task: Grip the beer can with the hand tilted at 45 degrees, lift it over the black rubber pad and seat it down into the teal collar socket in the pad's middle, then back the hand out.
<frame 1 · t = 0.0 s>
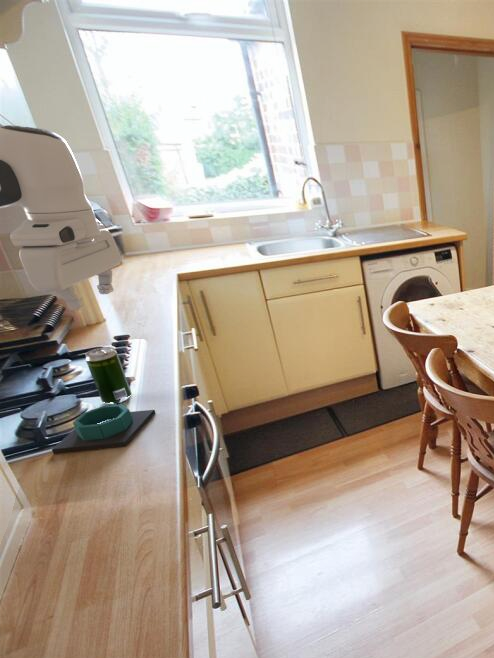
hand: (92, 300, 88), 26 cm above the countertop, tool pointing down, fingers open, 8 cm apart
can pad: (108, 432, 94), on the countertop
beer can: (118, 400, 105), on the countertop
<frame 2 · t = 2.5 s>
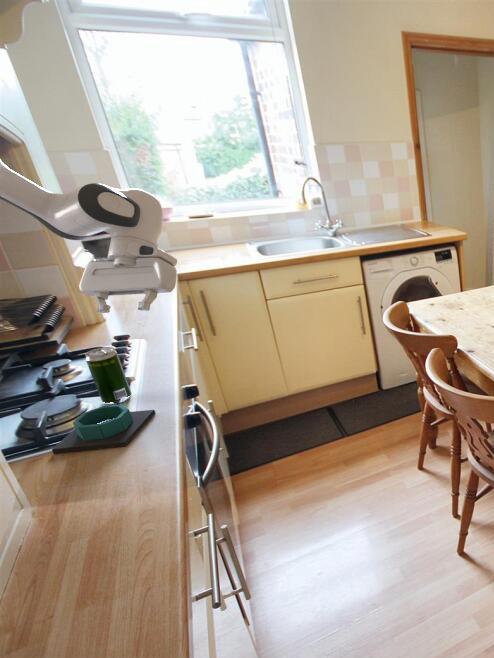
hand: (123, 311, 107), 18 cm above the countertop, tool tilted 40°, fingers open, 8 cm apart
nothing on the countertop moved.
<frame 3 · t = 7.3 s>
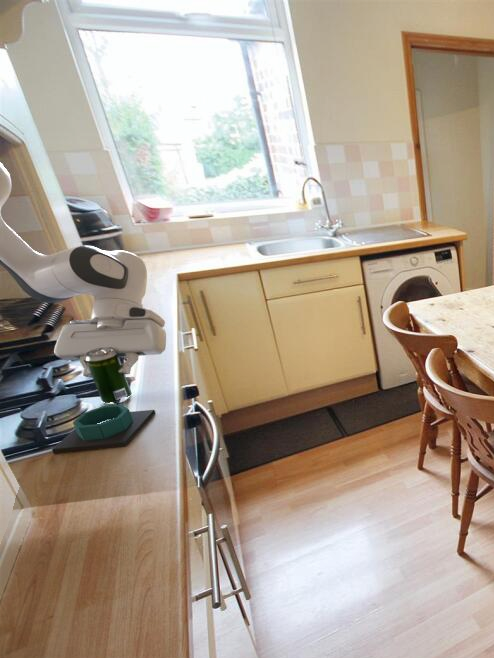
hand: (106, 375, 102), 7 cm above the countertop, tool tilted 45°, fingers closed on beer can, 5 cm apart
beer can: (118, 400, 106), on the countertop, touching gripper
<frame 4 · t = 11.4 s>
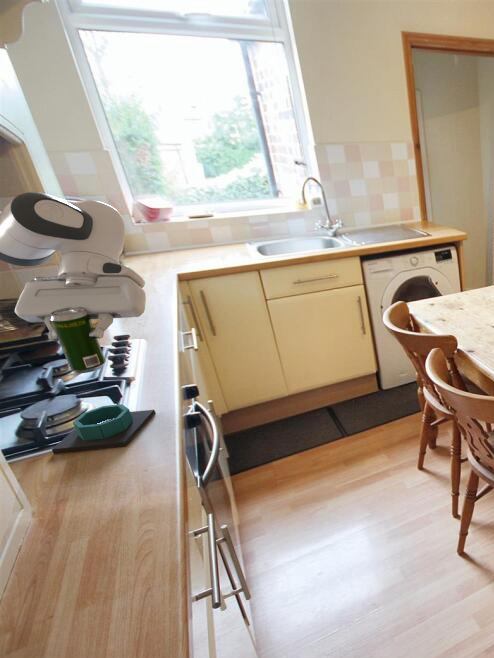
hand: (75, 338, 89), 19 cm above the countertop, tool tilted 45°, fingers closed on beer can, 5 cm apart
beer can: (89, 368, 92), point 12 cm above the countertop, touching gripper
when the fingers open (7 cm above the countertop, at t = 15.7 s): beer can stays where it is, resting on can pad.
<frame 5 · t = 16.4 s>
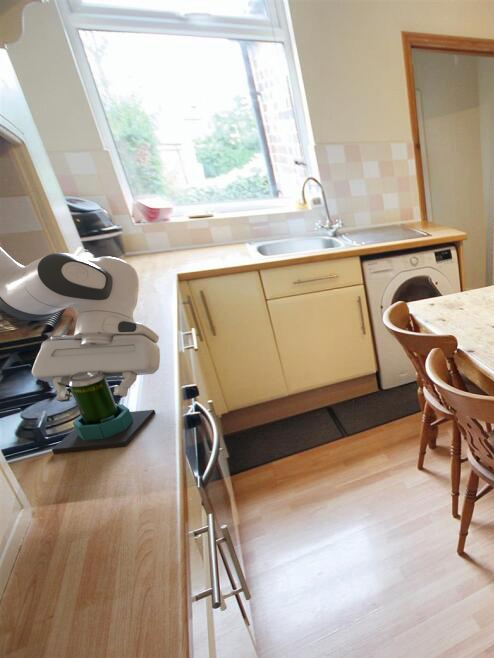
hand: (92, 398, 90), 8 cm above the countertop, tool tilted 45°, fingers open, 8 cm apart
beer can: (106, 428, 94), point 1 cm above the countertop, touching can pad
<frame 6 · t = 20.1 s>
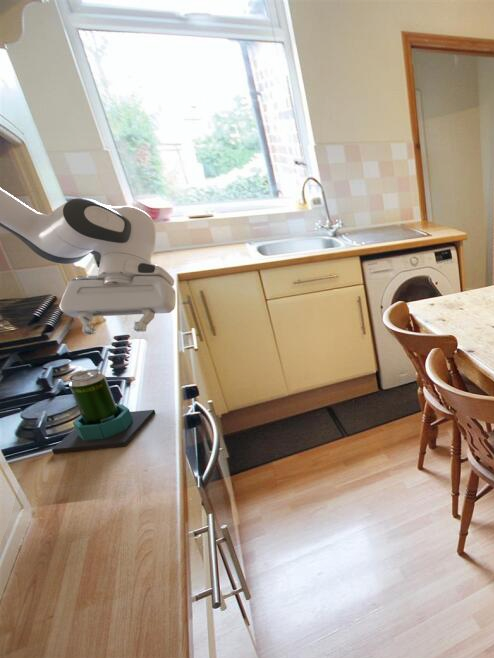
hand: (114, 332, 98), 17 cm above the countertop, tool tilted 45°, fingers open, 8 cm apart
nothing on the countertop moved.
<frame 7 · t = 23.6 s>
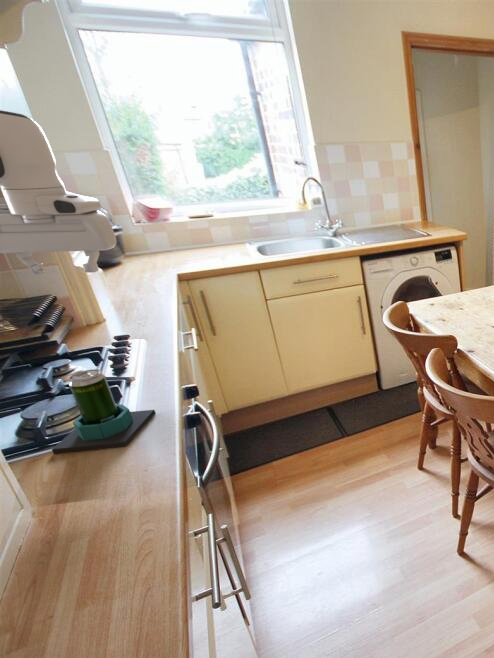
hand: (65, 272, 95), 29 cm above the countertop, tool pointing down, fingers open, 8 cm apart
nothing on the countertop moved.
at the end: beer can 0.0 cm off-centre on the can pad, point 0.8 cm above the can pad's base; beer can tilted 0°; the gripper is holding nothing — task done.
